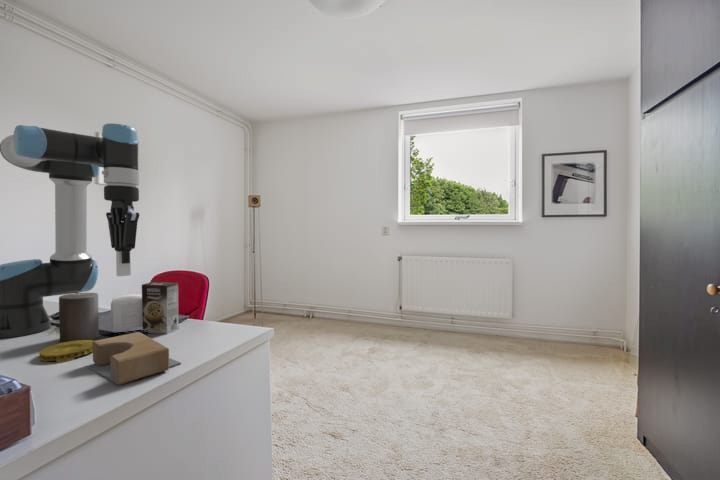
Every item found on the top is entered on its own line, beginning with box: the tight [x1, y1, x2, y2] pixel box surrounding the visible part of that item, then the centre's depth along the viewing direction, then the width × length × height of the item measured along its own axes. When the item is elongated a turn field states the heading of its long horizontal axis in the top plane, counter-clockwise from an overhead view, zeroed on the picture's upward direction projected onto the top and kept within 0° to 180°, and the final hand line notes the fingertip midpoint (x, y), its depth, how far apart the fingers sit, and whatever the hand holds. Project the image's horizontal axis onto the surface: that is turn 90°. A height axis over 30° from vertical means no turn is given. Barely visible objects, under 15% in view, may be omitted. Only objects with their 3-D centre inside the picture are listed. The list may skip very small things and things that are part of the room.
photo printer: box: [110, 293, 143, 330], centre depth 116 cm, size 10×4×12 cm, turn 123°
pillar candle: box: [58, 291, 100, 343], centre depth 108 cm, size 10×10×15 cm
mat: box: [87, 357, 182, 386], centre depth 88 cm, size 17×14×1 cm
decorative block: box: [92, 331, 170, 386], centre depth 87 cm, size 11×6×20 cm
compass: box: [38, 339, 95, 363], centre depth 96 cm, size 12×12×2 cm
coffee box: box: [141, 281, 180, 335], centre depth 117 cm, size 9×6×16 cm
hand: (123, 275), depth 92 cm, fingers closed
